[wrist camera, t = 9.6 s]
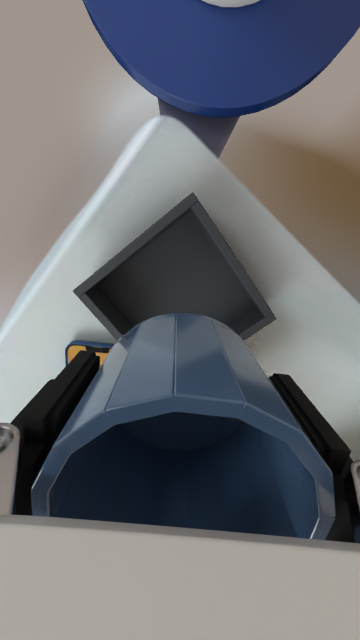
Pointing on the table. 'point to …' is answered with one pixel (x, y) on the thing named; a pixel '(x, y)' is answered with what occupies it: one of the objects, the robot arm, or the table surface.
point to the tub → (176, 277)
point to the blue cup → (187, 440)
